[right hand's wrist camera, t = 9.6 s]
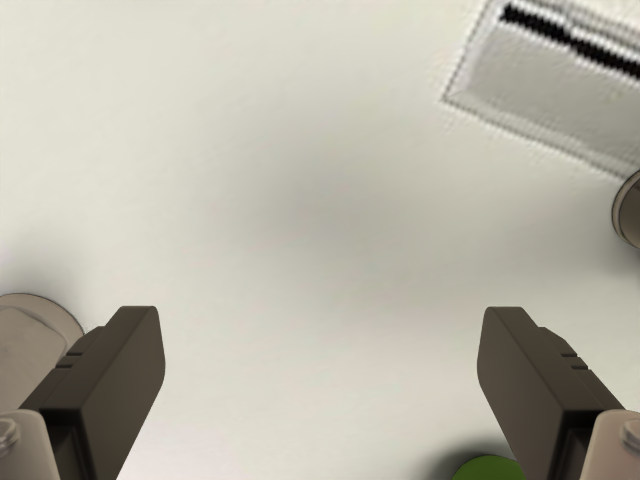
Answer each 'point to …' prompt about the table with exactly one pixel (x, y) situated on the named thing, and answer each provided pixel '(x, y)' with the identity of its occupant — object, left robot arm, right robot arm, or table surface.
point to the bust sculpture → (30, 344)
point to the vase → (489, 469)
